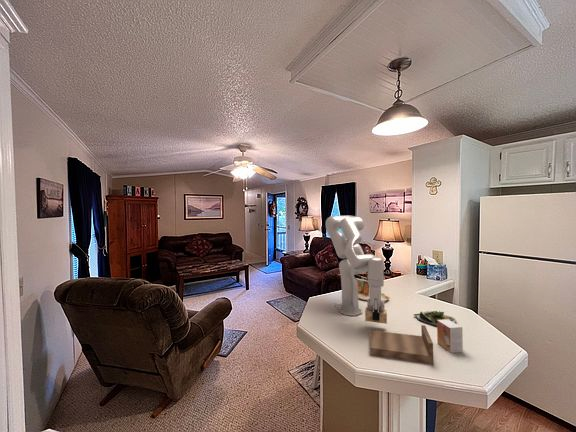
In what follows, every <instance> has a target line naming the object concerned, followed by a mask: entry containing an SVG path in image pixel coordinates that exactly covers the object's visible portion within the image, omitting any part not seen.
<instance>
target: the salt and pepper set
mask: <svg viewBox="0 0 576 432" xmlns="http://www.w3.org/2000/svg"><path fill="white" fill-rule="evenodd" d="M385 302H386V301H383V300H381V303H380V307H379V321H377V320H373V318H372V312H373V306H370V299H367V301H366V303H367V304H366V305H367V306H365V311H364V312H365V313H364V316H365V320H364V321H365V322H370V323H378V324H388V323H387V322H388V321H387V320H388V318H387V317H388V316H387V315H388V313H387V309H385V306H386V305H385Z"/></svg>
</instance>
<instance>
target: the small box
mask: <svg viewBox="0 0 576 432" xmlns="http://www.w3.org/2000/svg"><path fill="white" fill-rule="evenodd" d="M436 330H437V331H436V333H437V334H436V335H437V336H436V337H437V340H436V341H437V344H439V346H441V347H442V348H444V350H446V351H447V352H449V353H450V354H455V353H457V354H458V353H463V352H464V349H463V347H464V346H463V345H464V344H463V343H464V342H463V341H464V340H463V336H464V335H463V327H462V325H459V324H457V323H456V322H455V323H454V322H452V321H450V320H449V319H446V320H445V319H444V320H437V327H436Z"/></svg>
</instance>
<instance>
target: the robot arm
mask: <svg viewBox="0 0 576 432" xmlns="http://www.w3.org/2000/svg"><path fill="white" fill-rule="evenodd" d="M364 228H365V222H364V220H363V219H362V218H361V217H360V216H356V215H332V216H329V217H327V218H326V220H325V229H326V233H327V234H328V236H329V238H330V240H331V241H332V245H333V247H334V249H335V252H336V255H337V256H338V258H340V259H342V260H341V261H340V262H339V263H338V268H339V269H338V270H339V273H340V283H341V284H340V285H341V302H340V303H334V307H335V308H336V309H339V313H340V314H341V315H343V316H349V317H358V316H360V315H362V309H361V308H359V307H360V305H359V299H358V282H357V280H356V278H357V277H355V275H361V274H366V273H367V281H368V285H369V286H370V306H373V312H372V318H373V320H377V321H379V307H380V303H381V293H382V288H383V287H384V286H385V284H384V282H385V281H384V280H385V279H384V278H385V274H384V269H385V268H384V267H385V265H384V263H385V261H384V259H383V258H382V257H379V256H376V255H374V254H372V253H366V254H365V253H364V251H363V248H362V246H361V245H360V242H362V240H363V235H362V234H361V232H360V231H362V230H363V229H364ZM340 229H341V231H340Z"/></svg>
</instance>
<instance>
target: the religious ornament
mask: <svg viewBox="0 0 576 432" xmlns="http://www.w3.org/2000/svg"><path fill="white" fill-rule="evenodd" d="M355 278H356V280H357V282H358V300H360V301H364V302H367V299H370V286H369V285H368V280H366V279H361V278H358V277H355ZM389 299H391V297H389V296H387V295H386V294H384V293H382V292H381V300H383V301H385V302H386V301H388V300H389Z"/></svg>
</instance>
